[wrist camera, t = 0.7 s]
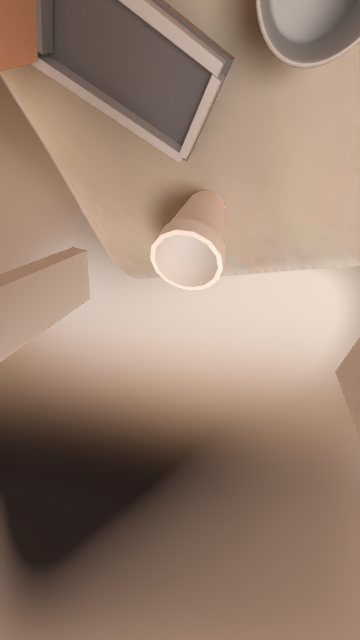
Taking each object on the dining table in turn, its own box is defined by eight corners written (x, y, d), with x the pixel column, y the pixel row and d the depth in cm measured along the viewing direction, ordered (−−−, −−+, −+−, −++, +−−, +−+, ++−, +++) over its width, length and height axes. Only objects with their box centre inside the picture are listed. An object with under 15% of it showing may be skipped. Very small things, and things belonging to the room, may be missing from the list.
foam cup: (165, 201, 38) (136, 251, 31) (212, 164, 32) (190, 214, 25) (200, 245, 43) (182, 297, 36) (246, 220, 37) (236, 276, 30)
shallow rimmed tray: (-1, 25, 27) (-31, 28, 25) (-23, -152, 19) (-71, -175, 17) (190, 155, 32) (181, 169, 30) (234, 58, 24) (228, 65, 22)
